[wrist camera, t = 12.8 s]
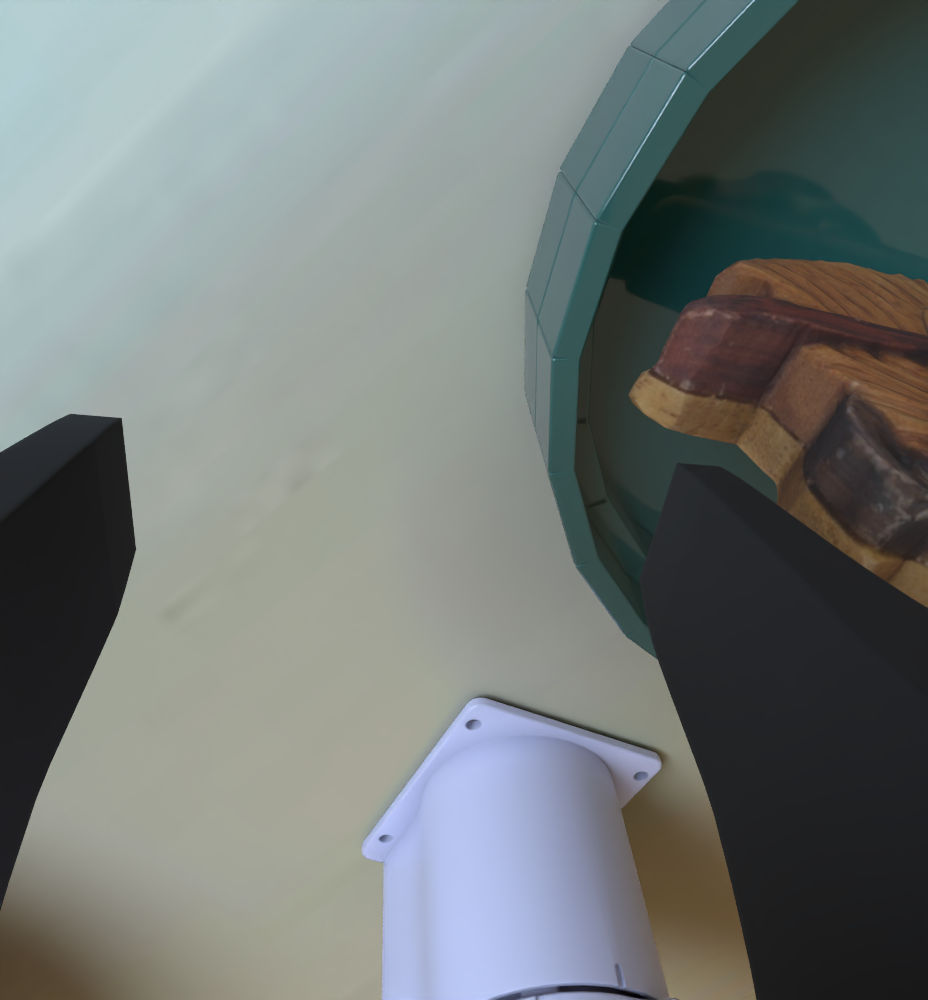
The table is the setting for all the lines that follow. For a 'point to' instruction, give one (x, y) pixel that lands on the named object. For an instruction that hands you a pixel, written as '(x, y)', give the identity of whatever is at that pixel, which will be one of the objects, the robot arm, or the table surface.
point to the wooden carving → (814, 398)
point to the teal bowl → (708, 231)
